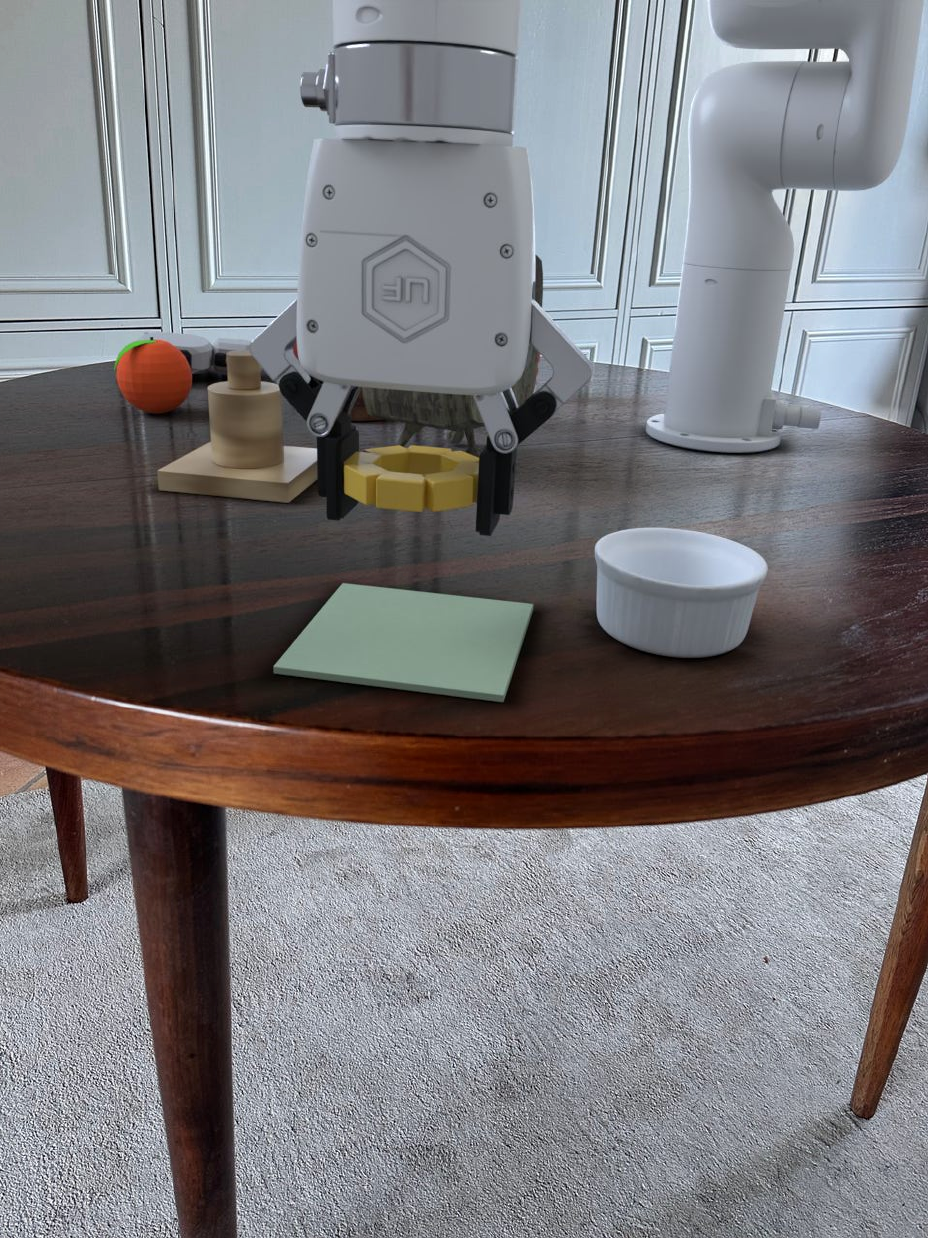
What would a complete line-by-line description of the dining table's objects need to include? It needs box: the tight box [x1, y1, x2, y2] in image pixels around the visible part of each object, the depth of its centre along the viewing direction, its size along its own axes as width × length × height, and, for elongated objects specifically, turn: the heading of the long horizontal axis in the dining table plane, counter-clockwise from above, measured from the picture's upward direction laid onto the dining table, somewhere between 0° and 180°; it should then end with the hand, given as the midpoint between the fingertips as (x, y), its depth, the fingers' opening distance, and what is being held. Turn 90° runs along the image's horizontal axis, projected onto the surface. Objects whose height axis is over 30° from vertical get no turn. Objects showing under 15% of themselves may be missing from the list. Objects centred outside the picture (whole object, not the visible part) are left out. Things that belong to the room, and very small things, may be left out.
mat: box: [273, 582, 534, 703], centre depth 51 cm, size 11×11×1 cm
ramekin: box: [594, 527, 769, 659], centre depth 52 cm, size 9×9×4 cm
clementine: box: [113, 337, 193, 415], centre depth 94 cm, size 8×7×7 cm
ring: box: [344, 444, 479, 513], centre depth 47 cm, size 7×7×1 cm
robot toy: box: [136, 331, 266, 376], centre depth 112 cm, size 12×4×15 cm
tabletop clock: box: [362, 253, 544, 458], centre depth 78 cm, size 14×9×25 cm, turn 152°
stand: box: [156, 350, 317, 504], centre depth 74 cm, size 10×10×10 cm
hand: (415, 516), depth 48 cm, fingers closed on ring, 6 cm apart
